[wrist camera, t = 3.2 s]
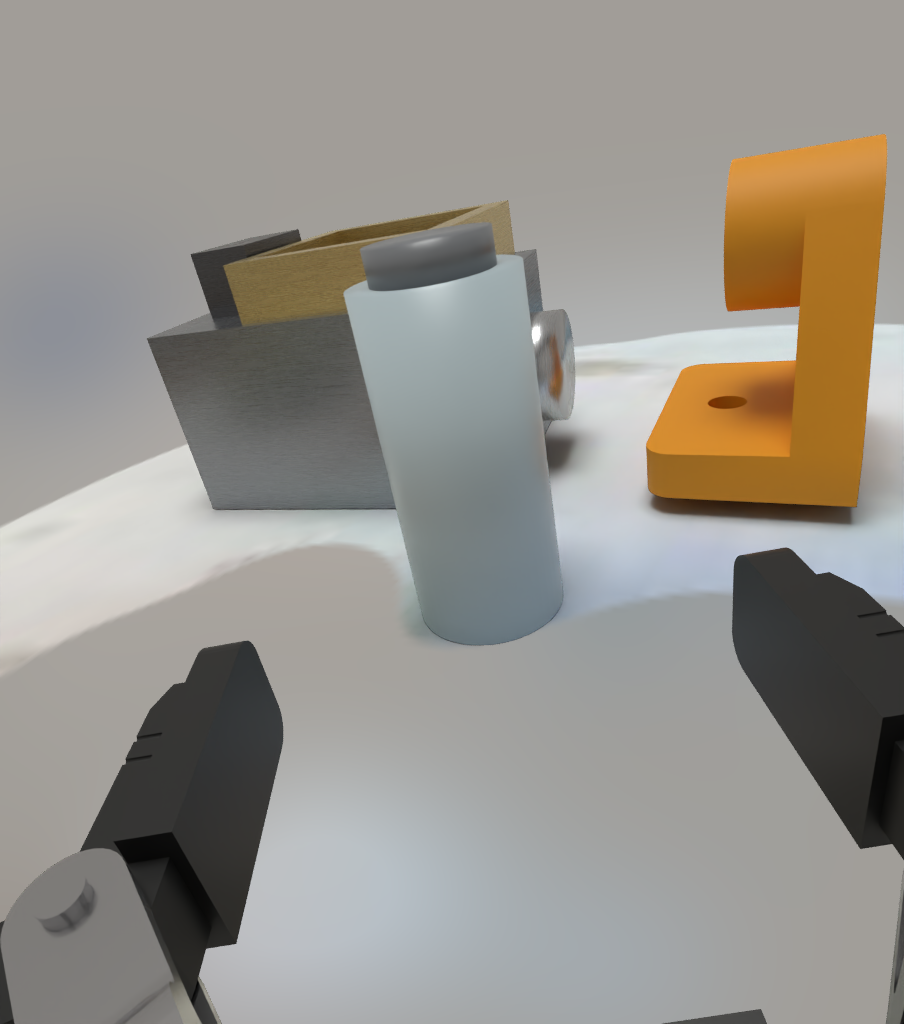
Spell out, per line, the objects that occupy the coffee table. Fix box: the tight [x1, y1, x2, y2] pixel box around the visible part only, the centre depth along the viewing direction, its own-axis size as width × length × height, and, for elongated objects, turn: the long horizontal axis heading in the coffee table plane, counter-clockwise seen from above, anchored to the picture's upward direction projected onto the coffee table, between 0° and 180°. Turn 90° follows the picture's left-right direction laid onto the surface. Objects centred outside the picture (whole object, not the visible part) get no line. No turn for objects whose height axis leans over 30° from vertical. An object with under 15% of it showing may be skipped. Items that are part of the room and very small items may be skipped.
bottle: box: [344, 222, 563, 645], centre depth 20 cm, size 5×5×12 cm
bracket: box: [646, 134, 887, 507], centre depth 26 cm, size 11×7×12 cm
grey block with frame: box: [147, 200, 575, 509], centre depth 33 cm, size 18×11×12 cm, turn 72°
